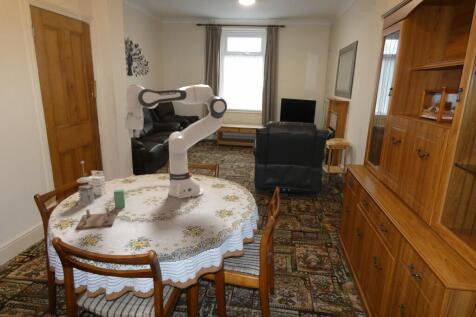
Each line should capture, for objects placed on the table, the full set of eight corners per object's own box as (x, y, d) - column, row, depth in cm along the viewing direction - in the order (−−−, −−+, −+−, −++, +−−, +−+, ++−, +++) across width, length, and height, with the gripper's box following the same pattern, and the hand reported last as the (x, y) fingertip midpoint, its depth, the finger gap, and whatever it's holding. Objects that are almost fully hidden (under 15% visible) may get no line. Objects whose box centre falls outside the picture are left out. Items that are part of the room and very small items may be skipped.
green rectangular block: (125, 205, 166) (123, 189, 163) (124, 207, 163) (123, 191, 160) (115, 206, 164) (114, 189, 162) (115, 208, 162) (113, 191, 159)
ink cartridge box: (89, 195, 179) (86, 172, 175) (93, 192, 184) (91, 170, 180) (102, 196, 178) (99, 173, 174) (106, 193, 183) (104, 170, 179)
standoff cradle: (116, 213, 155) (115, 205, 154) (112, 226, 142) (111, 216, 141) (83, 216, 151) (82, 207, 150) (76, 229, 138) (74, 220, 137)
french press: (93, 197, 175) (88, 158, 169) (100, 203, 168) (95, 162, 161) (75, 201, 169) (70, 160, 162) (81, 208, 161) (76, 165, 154)
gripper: (133, 112, 157) (133, 137, 158) (145, 114, 177) (145, 137, 178) (121, 111, 157) (121, 137, 158) (135, 114, 177) (135, 137, 178)
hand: (134, 137), depth 168 cm, fingers open, 8 cm apart
